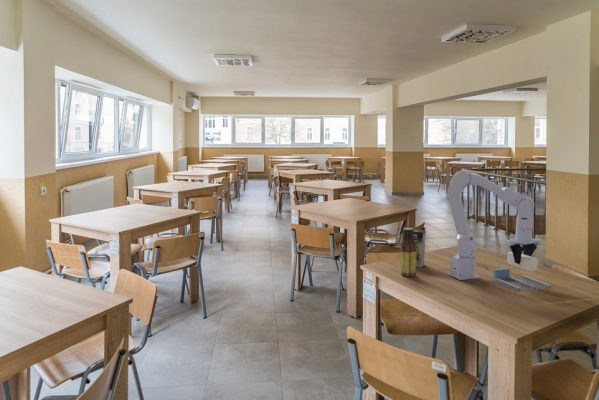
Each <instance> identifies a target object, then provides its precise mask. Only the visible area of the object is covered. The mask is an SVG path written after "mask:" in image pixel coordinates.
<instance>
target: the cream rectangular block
mask: <svg viewBox="0 0 599 400" xmlns="http://www.w3.org/2000/svg"><path fill="white" fill-rule="evenodd" d="M506 257H507V259H506V264H509V265H511V266H514V267H517V268H520V269H523V270H525V271H528V272H534V271H536V272H537V271H538V263H539V258H537V257H533V256H527V255H524V254H523V253H522V254H521V261H520V264H517V263H515V261H514V256H513V253H512V251H507V254H506Z"/></svg>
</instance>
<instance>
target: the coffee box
mask: <svg viewBox="0 0 599 400" xmlns="http://www.w3.org/2000/svg"><path fill="white" fill-rule="evenodd" d="M426 234H427V231H426V230H425V229H423V230H422V229H414V228H413V240H414V242H415V243H416V268H422V267H423V266H425V254H426V253H425V249H426ZM403 239H404V232H403V231H402V240H403Z"/></svg>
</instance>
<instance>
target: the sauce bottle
mask: <svg viewBox="0 0 599 400" xmlns="http://www.w3.org/2000/svg"><path fill="white" fill-rule="evenodd" d="M413 229H414V228H413V227H404V228H403V229H402V233H403V232H404V239H403V238H402V241H401V243H400V272H401V273H400V274H401V276H404V277H415V276H417V267H416V243H415V242H414V240H413Z"/></svg>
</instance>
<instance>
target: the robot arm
mask: <svg viewBox="0 0 599 400" xmlns="http://www.w3.org/2000/svg"><path fill="white" fill-rule="evenodd" d="M467 186H479V187H482V188H483V189H486V190H487V191H489V192H491V193H494V194H496V195H497V197H498V198H497V199H498V200H499V201H501V202H503V203H505V204H507V205H509V206H510V207H512V208H516V209H517V215H516V222H515V224H516V225H515V236H514V237H515V238H511V239H505V246H508V247H509V248H510V251H511V252H512V253H513V256H514V261H515V263H517V264H520V261H521V254H524V255H527V256H531V257H533V254H534V252H535V251H536V250H537V245H541V241H542V240H541V238H538V237H537V238H536V237H535V238H533V228H534V209H535V202H534V200H533V198H531V197H529V196H526V194H524V193H522V194H521V192H519V191H516V190H514V187H512V186H510V187H509V186H504V187H501V186H500V185H498V184H496V183H495V182H493V181H491V180H489V179H487V177H484V176H483V175H480V174H479V173H476V172H472V171H471V170H468V169H463V170H458V171H456V172H455V173H454V174H453V176H452V177H451V178H450V183H449V186H448V188H447V191H446V192H447V198H448V203H449V206H450V211H451V213H452V214H451V215H452V218H453V223H454V226H455V230H456V233H457V234H456V237H457V238H456V240H457V246H456V251H457V253H456V255H455V256H452V257H451V258H450V262H449V265H450V266H449V273H448V275H449V276H451V277H453V278H455V279H456V280H460V281H461V280H462V281H463V280H469V279H470V280H471V279H480V276H479V275H476V264H477V263H476V259H477V255H476V253H475V251H476V249H477V246H478V245H477V241H476V240H475V239H474V237H473V235H472V233H471V231H470V227H469V223H468V220H467V215H466V212H465V211H466V210H465V208H464V203H463V200H462V195H461V194H462V193H463V191H464V190H465V188H466V187H467Z"/></svg>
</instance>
